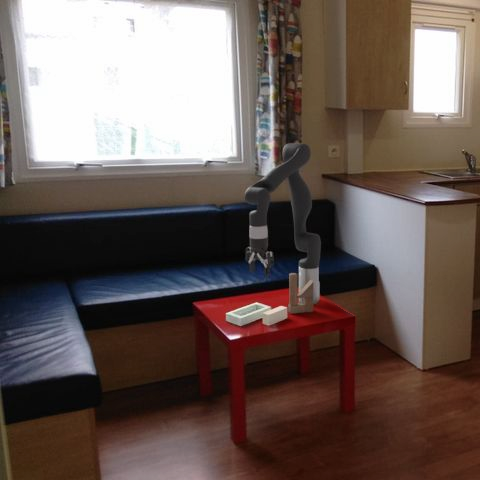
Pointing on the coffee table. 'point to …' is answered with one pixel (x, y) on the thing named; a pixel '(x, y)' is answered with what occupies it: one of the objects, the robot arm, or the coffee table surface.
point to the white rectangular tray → (247, 314)
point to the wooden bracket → (300, 296)
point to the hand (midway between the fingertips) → (259, 273)
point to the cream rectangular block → (274, 315)
